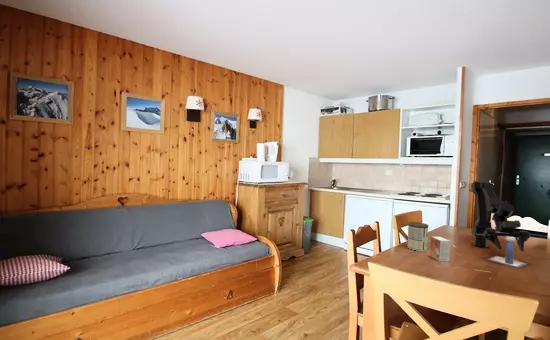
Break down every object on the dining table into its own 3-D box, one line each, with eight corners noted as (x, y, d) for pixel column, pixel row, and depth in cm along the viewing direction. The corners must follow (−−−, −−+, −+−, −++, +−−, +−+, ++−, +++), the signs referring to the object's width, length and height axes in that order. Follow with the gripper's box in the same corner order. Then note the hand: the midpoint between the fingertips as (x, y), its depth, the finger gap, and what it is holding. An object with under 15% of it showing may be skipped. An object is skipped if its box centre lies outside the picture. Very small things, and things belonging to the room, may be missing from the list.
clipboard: (496, 256, 158) (496, 254, 158) (527, 264, 147) (527, 262, 147) (487, 260, 153) (487, 257, 153) (518, 268, 142) (518, 266, 142)
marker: (504, 261, 149) (506, 235, 149) (513, 263, 147) (515, 236, 147) (504, 263, 146) (506, 236, 146) (513, 264, 144) (515, 238, 144)
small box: (429, 256, 156) (430, 236, 155) (439, 256, 156) (440, 236, 156) (439, 261, 148) (440, 240, 147) (449, 261, 148) (450, 240, 148)
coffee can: (406, 245, 175) (407, 221, 175) (425, 247, 172) (427, 223, 171) (407, 250, 165) (409, 224, 165) (428, 252, 162) (430, 226, 162)
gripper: (486, 212, 152) (495, 239, 142) (529, 215, 148) (542, 243, 137) (479, 224, 160) (487, 251, 150) (519, 227, 155) (531, 255, 145)
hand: (511, 250), depth 145 cm, fingers open, 9 cm apart
